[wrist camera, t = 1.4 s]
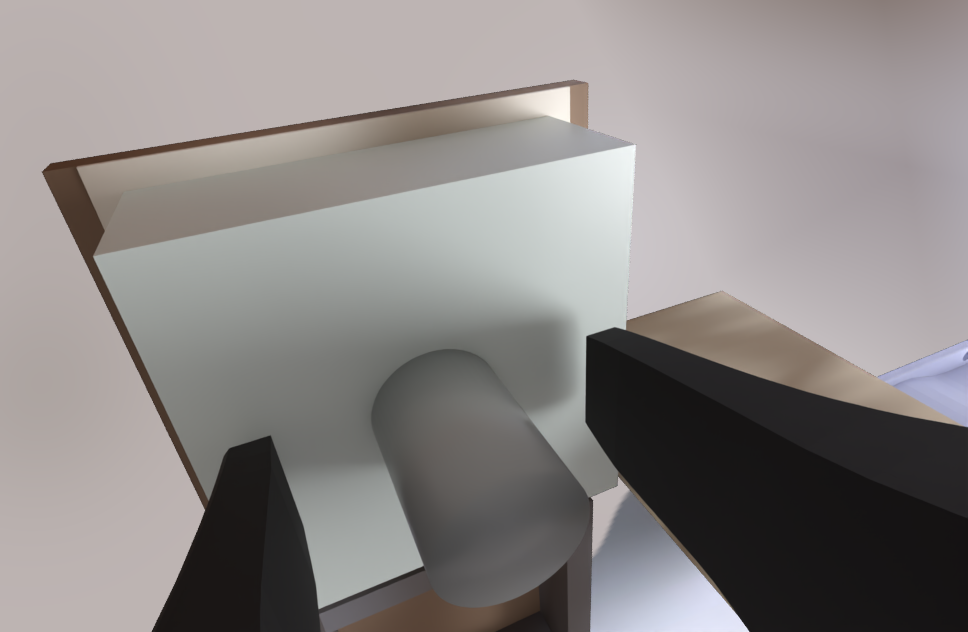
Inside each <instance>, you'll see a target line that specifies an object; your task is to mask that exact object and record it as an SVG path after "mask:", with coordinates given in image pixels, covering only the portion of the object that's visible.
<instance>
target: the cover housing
mask: <svg viewBox="0 0 968 632" xmlns="http://www.w3.org/2000/svg"><path fill="white" fill-rule="evenodd" d="M635 151H636V144H633V143H630V142H626V141H624V140H621V139H617V138H614V137H612V136H609V135H605V134H603V133H600V132H596V131H593V130H590V129H587V128H584V127H581V126H578V125H575V124H572V123H569V122H566V121H563V120H560V119H557V118H554V117H551V116H545V117H540V118H534V119H528V120H523V121H517V122H512V123H506V124H500V125H495V126H489V127H484V128H478V129H472V130H467V131H461V132H456V133H450V134H444V135H439V136H433V137H428V138H422V139H417V140H411V141H405V142H400V143H394V144H389V145H383V146H377V147H372V148H366V149H361V150H355V151H349V152H344V153H338V154H333V155H327V156H321V157H316V158H310V159H305V160H299V161H293V162H288V163H282V164H277V165H271V166H265V167H260V168H254V169H249V170H243V171H237V172H232V173H226V174H221V175H215V176H209V177H204V178H198V179H193V180H187V181H181V182H176V183H170V184H165V185H159V186H153V187H148V188H142V189H137V190H131V191H125V192H123V194H122V196H121V199H120V201H119V203H118V205H117V207H116V209H115V211H114V213H113V215H112V217H111V220H110V222H109V224H108V226H107V228H106V230H105V232H104V234H103V236H102V238H101V241H100V243H99V245H98V247H97V249H96V251H95V253H94V255H93V257H94V260H95V262H96V264H97V266H98V268H99V270H100V272H101V274H102V276H103V279H104V281H105V283H106V285H107V287H108V289H109V291H110V293H111V295H112V298H113V300H114V302H115V304H116V306H117V308H118V310H119V312H120V314H121V317H122V319H123V321H124V323H125V325H126V327H127V329H128V331H129V334H130V336H131V338H132V340H133V342H134V344H135V346H136V348H137V350H138V353H139V355H140V357H141V359H142V361H143V363H144V365H145V367H146V369H147V372H148V374H149V376H150V378H151V380H152V382H153V384H154V386H155V388H156V391H157V393H158V395H159V397H160V399H161V401H162V403H163V405H164V408H165V410H166V412H167V414H168V416H169V418H170V420H171V422H172V424H173V427H174V429H175V431H176V433H177V435H178V437H179V439H180V441H181V443H182V446H183V448H184V450H185V452H186V454H187V456H188V458H189V460H190V462H191V465H192V467H193V469H194V471H195V473H196V475H197V477H198V479H199V481H200V484H201V486H202V488H203V490H204V492H205V494H206V496H207V498H208V501H209V499H210V496H211V493H212V491H213V488H214V485H215V482H216V479H217V476H218V473H219V470H220V466H221V463H222V460H223V456H224V455H225V454H226V452H227V451H228V449H229V448H232V447H235V446H238V445H241V444H244V443H247V442H251V441H254V440H257V439H260V438H263V437H267V436H270V435H271V437H272V440H273V443H274V446H275V448H276V451H277V454H278V457H279V459H280V462H281V465H282V468H283V470H284V473H285V476H286V479H287V481H288V484H289V487H290V490H291V492H292V495H293V498H294V501H295V503H296V506H297V509H298V512H299V515H300V517H301V520H302V523H303V526H304V530H305V535H306V540H307V544H308V549H309V554H310V558H311V563H312V568H313V573H314V578H315V582H316V589H317V599H318V609H320V608H323V607H325V606H327V605H330V604H332V603H335V602H337V601H340V600H342V599H344V598H347V597H349V596H352V595H354V594H356V593H359V592H361V591H364V590H366V589H369V588H371V587H373V586H376V585H378V584H381V583H383V582H386V581H388V580H390V579H393V578H395V577H398V576H400V575H403V574H405V573H407V572H410V571H412V570H415V569H417V568H420V567H422V566H424V568H425V570H426V573H427V576H428V578H429V581H430V584H431V586H432V588H433V590H434V591H435V593H436V594H437V595H438V596H439V597H440V598H442V599H443V600H445V601H446V602H448V603H450V604H453V605H456V606H460V607H468V608H479V607H487V606H492V605H497V604H500V603H504V602H507V601H509V600H512V599H514V598H517V597H519V596H521V595H523V594H525V593H527V592H529V591H531V590H532V589H534V588H536V587H537V586H539V585H540V584H542V583H543V582H544V581H546V580H547V579H548V578H550V577H551V576H552V575H553V574H554V573H555V572H557V571H558V570H559V569H560V568H561V567H562V566H563V565H564V564H565V563H566V561H567V560H568V559H569V558H570V557H571V555H572V554H573V553H574V552H575V550H576V549H577V547H578V545H579V544H580V542H581V540H582V538H583V536H584V534H585V532H586V529H587V526H588V522H589V518H590V502H589V499H588V498H590V497H592V496H594V495H597V494H599V493H601V492H604V491H606V490H609V489H611V488H614V487H616V486H617V485H618V470H617V469H616V468H615V467H614V465H613V464H612V462H611V461H610V460H609V458H608V457H607V455H606V454H605V452H604V451H603V449H602V448H601V446H600V445H599V443H598V442H597V440H596V439H595V437H594V435H593V434H592V432H591V431H590V429H589V428H588V426H587V424H586V423H585V396H586V336H588V335H591V334H594V333H597V332H600V331H604V330H607V329H610V328H613V327H617V328H620V329H624V330H626V318H627V299H628V282H629V263H630V244H631V226H632V205H633V188H634V170H635V168H634V167H635Z"/></svg>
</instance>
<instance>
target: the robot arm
mask: <svg viewBox="0 0 968 632" xmlns="http://www.w3.org/2000/svg"><path fill="white" fill-rule="evenodd" d="M877 378H879V379H881V380H882V381H884V382H886V383H888V384H890V385H891V386H893V387H895V388H897V389H898V390H900V391H902V392H904V393H906V394H907V395H909V396H911V397H913V398H915V399H916V400H918V401H920V402H922V403H923V404H925V405H927V406H929V407H931V408H932V409H934V410H936V411H938V412H939V413H941V414H943V415H945V416H947V417H948V418H950V419H952V420H954V421H956V422H957V423H959V424H961V425H963V426H959V425H954V424H948V423H943V422H937V421H932V420H926V419H921V418H915V417H910V416H905V415H900V414H896V413H891V412H886V411H882V410H877V409H873V408H869V407H865V406H861V405H857V404H853V403H848V402H844V401H840V400H836V399H832V398H828V397H824V396H821V395H817V394H814V393H810V392H806V391H803V390H800V389H796V388H793V387H790V386H787V385H783V384H780V383H777V382H774V381H770V380H767V379H764V378H761V377H758V376H755V375H752V374H749V373H746V372H743V371H740V370H737V369H734V368H731V367H728V366H725V365H723V364H720V363H717V362H714V361H711V360H708V359H706V358H703V357H700V356H697V355H695V354H692V353H689V352H687V351H684V350H681V349H678V348H676V347H673V346H670V345H667V344H665V343H662V342H659V341H656V340H654V339H651V338H648V337H645V336H642V335H639V334H637V333H634V332H630V331H627V330H624V329H620V328H617V327H613V328H610V329H607V330H604V331H600V332H597V333H594V334H591V335H588V336H586V396H585V423H586V424H587V426H588V428H589V429H590V431H591V432H592V434H593V435H594V437H595V439H596V440H597V442H598V443H599V445H600V446H601V448H602V449H603V451H604V452H605V454H606V455H607V457H608V458H609V460H610V461H611V462H612V464H613V465H614V467H615V468H616V469H617V470H618V472H619V473H620V474H621V475H622V476H623V477H624V479H625V480H626V481H627V482H628V483H629V484H630V486H631V487H632V488H633V489H634V490H635V491H636V493H637V494H638V495H639V496H640V497H641V498H642V500H643V501H644V502H645V503H646V504H647V505H648V506H649V507H650V509H651V510H652V511H653V512H654V513H655V514H656V515H657V517H658V518H659V519H660V520H661V521H662V522H663V523H664V525H665V526H666V527H667V528H668V529H669V530H670V531H671V533H672V534H673V535H674V536H675V537H676V538H677V539H678V541H679V542H680V543H681V544H682V545H683V546H684V547H685V548H686V550H687V551H688V552H689V553H690V554H691V555H692V556H693V558H694V559H695V560H696V561H697V562H698V563H699V565H700V566H701V567H702V568H703V570H704V571H705V572H706V573H707V575H708V576H709V577H710V578H711V579H712V581H713V582H714V583H715V584H716V586H717V587H718V589H719V590H720V591H721V593H722V594H723V596H724V597H725V598H726V600H727V601H728V602H729V604H730V605H731V607H732V608H733V609H734V611H735V612H736V614H737V615H738V616H739V618H740V619H741V620H742V622H743V623H744V625H745V626H746V627H747V629H748V630H749V632H968V340H966V341H963V342H961V343H958V344H956V345H953V346H951V347H949V348H946V349H944V350H941V351H939V352H937V353H934V354H932V355H929V356H927V357H924V358H922V359H919V360H917V361H915V362H912V363H910V364H907V365H905V366H902V367H900V368H897V369H895V370H893V371H890V372H888V373H885V374H883V375H880V376H878V377H877ZM152 632H321V629H320V619H319V609H318V599H317V589H316V582H315V578H314V573H313V568H312V563H311V558H310V554H309V549H308V544H307V540H306V535H305V530H304V526H303V523H302V520H301V517H300V515H299V512H298V509H297V506H296V503H295V501H294V498H293V495H292V492H291V490H290V487H289V484H288V481H287V479H286V476H285V473H284V470H283V468H282V465H281V462H280V459H279V457H278V454H277V451H276V448H275V446H274V443H273V440H272V437H271V435H270V436H267V437H263V438H260V439H257V440H254V441H251V442H247V443H244V444H241V445H238V446H235V447H232V448H229V449H228V451H227V452H226V454H225V455H224V456H223V460H222V463H221V466H220V470H219V473H218V476H217V479H216V482H215V485H214V488H213V491H212V493H211V496H210V499H209V502H208V504H207V507H206V510H205V512H204V515H203V518H202V520H201V523H200V525H199V528H198V531H197V533H196V535H195V537H194V540H193V542H192V545H191V547H190V550H189V552H188V554H187V557H186V559H185V561H184V564H183V566H182V568H181V571H180V573H179V575H178V578H177V580H176V582H175V584H174V586H173V589H172V591H171V593H170V595H169V597H168V599H167V601H166V603H165V605H164V607H163V609H162V612H161V613H160V616H159V617H158V620H157V622H156V624H155V626H154V628H153V630H152Z"/></svg>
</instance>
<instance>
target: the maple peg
mask: <svg viewBox="0 0 968 632" xmlns="http://www.w3.org/2000/svg"><path fill="white" fill-rule="evenodd" d="M626 330H627V331H630V332H634V333H637V334H639V335H642V336H645V337H648V338H651V339H654V340H656V341H659V342H662V343H665V344H667V345H670V346H673V347H676V348H678V349H681V350H684V351H687V352H689V353H692V354H695V355H697V356H700V357H703V358H706V359H708V360H711V361H714V362H717V363H720V364H723V365H725V366H728V367H731V368H734V369H737V370H740V371H743V372H746V373H749V374H752V375H755V376H758V377H761V378H764V379H767V380H770V381H774V382H777V383H780V384H783V385H787V386H790V387H793V388H796V389H800V390H803V391H806V392H810V393H814V394H817V395H821V396H824V397H828V398H832V399H836V400H840V401H844V402H848V403H853V404H857V405H861V406H865V407H869V408H873V409H877V410H882V411H886V412H891V413H896V414H900V415H905V416H910V417H915V418H921V419H926V420H932V421H937V422H943V423H948V424H954V425H959V426H963V425H961V424H959V423H957V422H956V421H954V420H952V419H950V418H948V417H947V416H945V415H943V414H941V413H939V412H938V411H936V410H934V409H932V408H931V407H929V406H927V405H925V404H923V403H922V402H920V401H918V400H916V399H915V398H913V397H911V396H909V395H907V394H906V393H904V392H902V391H900V390H898V389H897V388H895V387H893V386H891V385H890V384H888V383H886V382H884V381H882V380H881V379H879V378H877V377H875V376H873V375H872V374H870V373H868V372H866V371H865V370H863V369H861V368H859V367H857V366H855V365H854V364H852V363H850V362H849V361H847V360H845V359H843V358H841V357H839V356H837V355H836V354H834V353H832V352H831V351H829V350H827V349H825V348H823V347H822V346H820V345H818V344H816V343H814V342H813V341H811V340H809V339H807V338H806V337H804V336H802V335H800V334H798V333H797V332H795V331H793V330H791V329H789V328H788V327H786V326H784V325H782V324H781V323H779V322H777V321H775V320H774V319H771V318H770V317H768V316H766V315H765V314H763V313H761V312H759V311H757V310H756V309H754V308H752V307H750V306H749V305H747V304H745V303H743V302H741V301H740V300H738V299H736V298H734V297H733V296H731V295H729V294H727V293H725V292H724V291H720V292H717V293H713V294H710V295H707V296H704V297H701V298H697V299H694V300H691V301H688V302H685V303H682V304H678V305H675V306H672V307H669V308H666V309H662V310H659V311H656V312H653V313H649V314H646V315H643V316H640V317H637V318H633V319H630V320H627V321H626ZM618 477H619V478H620V479H621V480H622V481H623V483H624V484H625V485H626V486H627V487H628V488H629V489H630V491H631V492H632V493H633V494H634V495H635V496H636V498H637V499H638V500H639V501H640V502H641V503H642V505H643V506H644V507H645V508H646V509H647V510H648V512H649V513H650V514H651V515H652V516H653V517H654V519H655V520H656V521H657V522H658V523H659V524H660V525H661V527H662V528H663V529H664V530H665V531H666V532H667V534H668V535H669V536H670V537H671V538H672V539H673V541H674V542H675V543H676V544H677V545H678V546H679V548H680V549H681V550H682V551H683V552H684V553H685V555H686V556H687V557H688V558H689V559H690V560H691V562H692V563H693V564H694V565H695V566H696V567H697V568H698V570H699V571H700V572H701V573H702V574H703V575H704V577H705V578H706V579H707V580H708V581H709V582H710V584H711V585H712V586H713V587H714V588H715V589H716V591H717V592H718V593H719V594H720V595H721V596H722V598H723V599H724V600H725V601H726V602H727V603H728V605H729V606H730V607H731V605H730V604H729V602H728V601H727V600H726V598H725V597H724V596H723V594H722V593H721V591H720V590H719V589H718V587H717V586H716V584H715V583H714V582H713V581H712V579H711V578H710V577H709V576H708V575H707V573H706V572H705V571H704V570H703V568H702V567H701V566H700V565H699V563H698V562H697V561H696V560H695V559H694V558H693V556H692V555H691V554H690V553H689V552H688V551H687V550H686V548H685V547H684V546H683V545H682V544H681V543H680V542H679V541H678V539H677V538H676V537H675V536H674V535H673V534H672V533H671V531H670V530H669V529H668V528H667V527H666V526H665V525H664V523H663V522H662V521H661V520H660V519H659V518H658V517H657V515H656V514H655V513H654V512H653V511H652V510H651V509H650V507H649V506H648V505H647V504H646V503H645V502H644V501H643V500H642V498H641V497H640V496H639V495H638V494H637V493H636V491H635V490H634V489H633V488H632V487H631V486H630V484H629V483H628V482H627V481H626V480H625V479H624V477H623V476H622V475H621V474H620V473H619V472H618ZM731 608H732V607H731ZM732 609H733V608H732ZM733 610H734V609H733ZM735 613H736V612H735Z"/></svg>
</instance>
